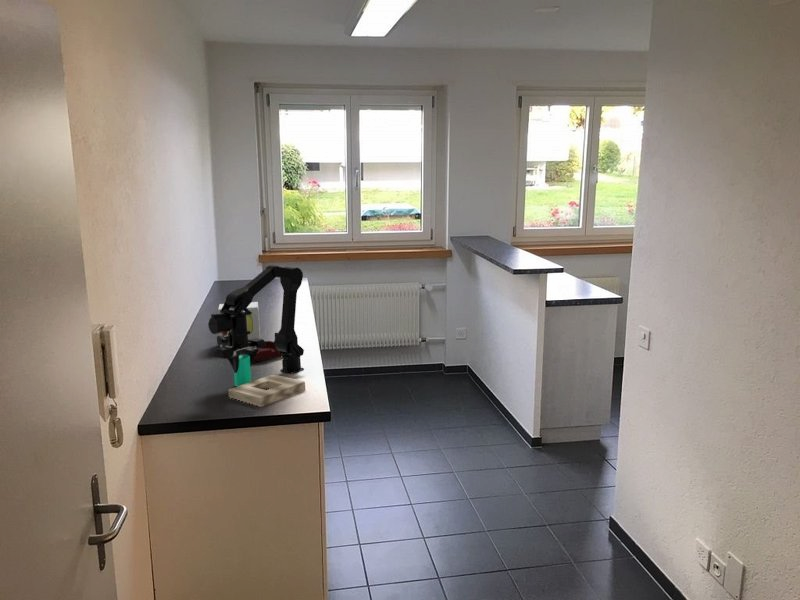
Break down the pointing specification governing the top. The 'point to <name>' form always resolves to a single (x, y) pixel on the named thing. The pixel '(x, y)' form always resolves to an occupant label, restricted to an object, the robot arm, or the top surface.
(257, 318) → the supplement box
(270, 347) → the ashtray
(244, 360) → the candle
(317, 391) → the top surface
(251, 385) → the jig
